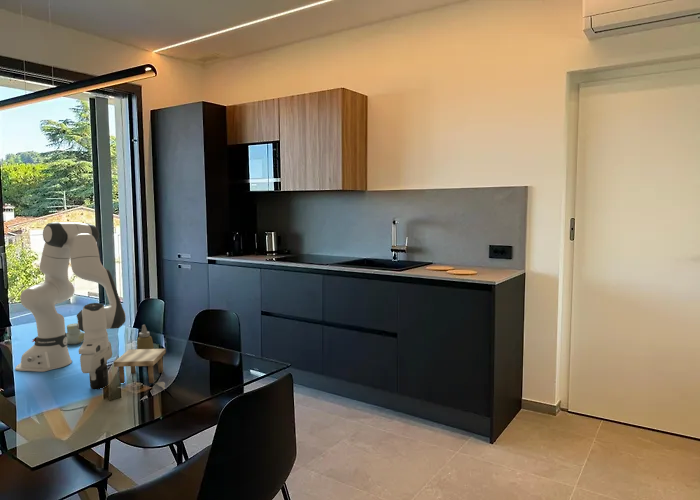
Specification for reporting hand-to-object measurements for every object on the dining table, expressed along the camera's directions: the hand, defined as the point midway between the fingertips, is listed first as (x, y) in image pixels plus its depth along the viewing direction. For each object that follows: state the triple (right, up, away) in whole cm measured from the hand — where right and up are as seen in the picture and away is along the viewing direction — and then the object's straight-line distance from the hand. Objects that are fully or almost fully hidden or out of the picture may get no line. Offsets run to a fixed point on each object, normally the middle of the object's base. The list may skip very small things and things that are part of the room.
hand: (98, 375), depth 205 cm
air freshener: (-43, +2, +59) cm, 73 cm away
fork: (+29, -6, -4) cm, 30 cm away
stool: (+14, -3, +10) cm, 17 cm away
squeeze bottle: (+8, -1, +29) cm, 30 cm away
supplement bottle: (0, -5, +1) cm, 5 cm away
